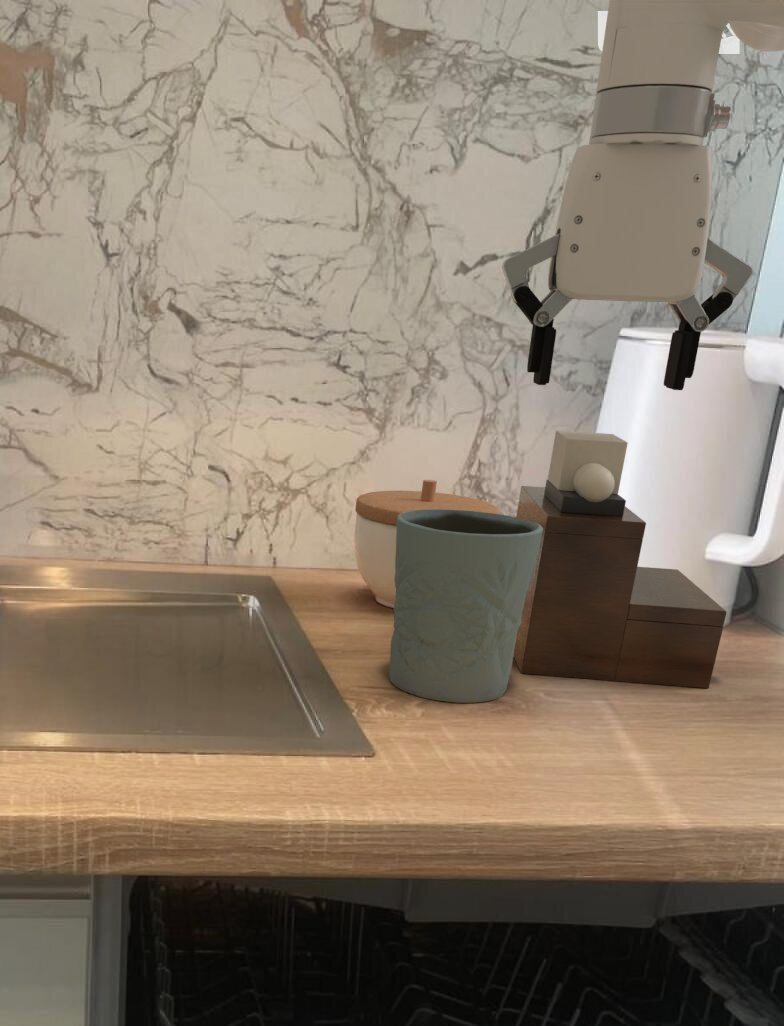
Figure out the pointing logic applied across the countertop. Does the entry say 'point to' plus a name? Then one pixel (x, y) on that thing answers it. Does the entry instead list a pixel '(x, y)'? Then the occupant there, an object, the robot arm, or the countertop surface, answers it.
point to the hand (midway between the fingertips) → (606, 386)
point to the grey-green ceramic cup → (459, 601)
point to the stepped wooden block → (610, 605)
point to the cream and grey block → (586, 473)
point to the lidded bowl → (395, 530)
